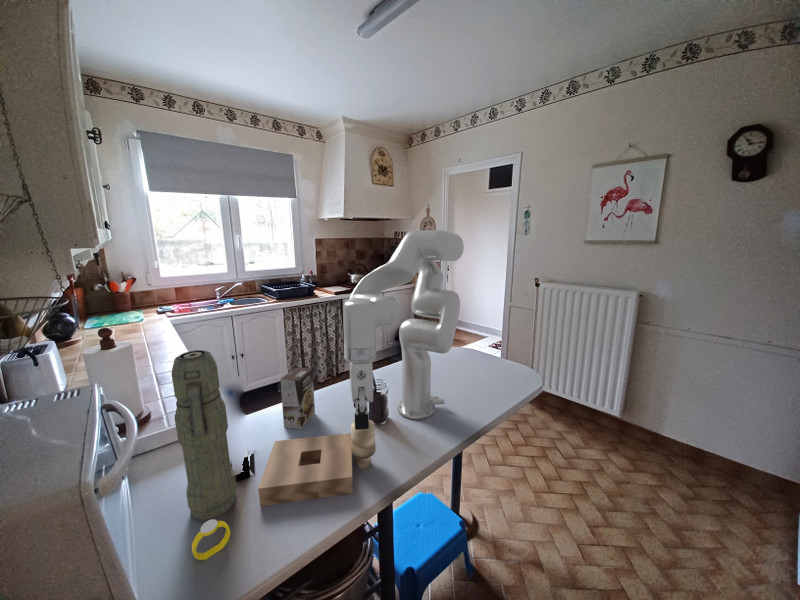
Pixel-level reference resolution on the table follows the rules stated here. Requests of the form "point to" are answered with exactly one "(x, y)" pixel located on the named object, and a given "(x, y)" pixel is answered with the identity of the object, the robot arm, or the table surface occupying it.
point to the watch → (206, 530)
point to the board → (307, 469)
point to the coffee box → (297, 397)
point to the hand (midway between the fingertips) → (360, 417)
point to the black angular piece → (246, 469)
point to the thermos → (203, 435)
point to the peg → (363, 444)
